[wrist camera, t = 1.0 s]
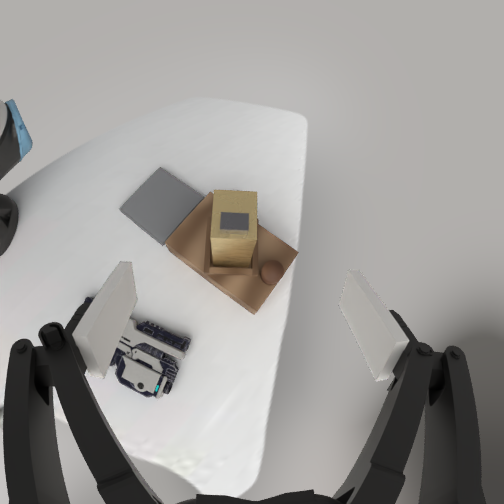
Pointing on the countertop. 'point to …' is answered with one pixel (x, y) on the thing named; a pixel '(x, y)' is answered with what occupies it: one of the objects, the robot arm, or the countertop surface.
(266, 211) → the countertop surface
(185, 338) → the toy gun
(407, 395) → the robot arm
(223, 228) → the labelled wooden block
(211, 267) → the body
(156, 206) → the mat
